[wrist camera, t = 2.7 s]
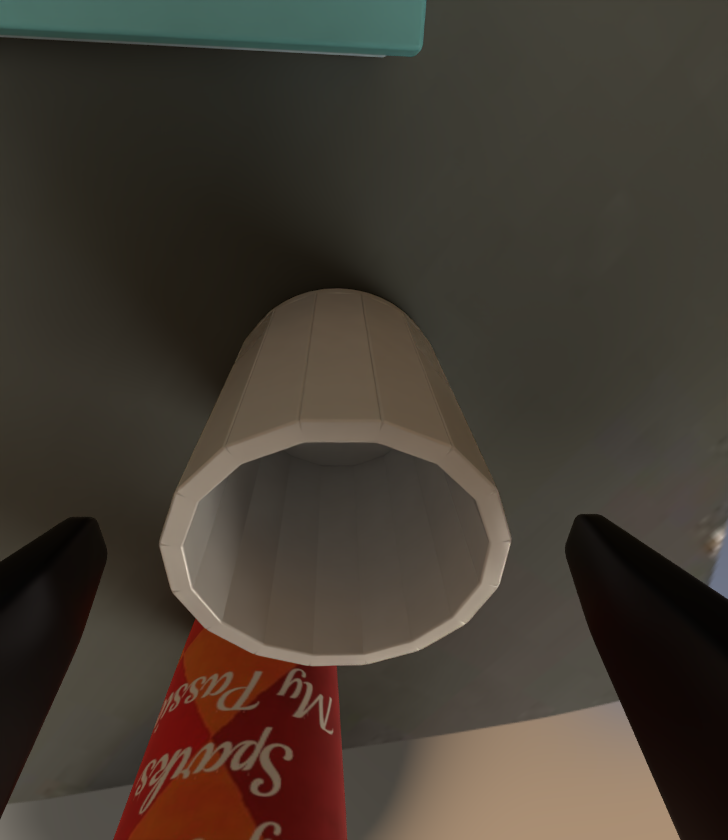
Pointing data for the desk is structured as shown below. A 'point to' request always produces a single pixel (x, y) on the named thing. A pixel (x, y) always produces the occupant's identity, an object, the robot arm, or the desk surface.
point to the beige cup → (335, 493)
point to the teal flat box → (227, 24)
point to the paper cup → (241, 751)
